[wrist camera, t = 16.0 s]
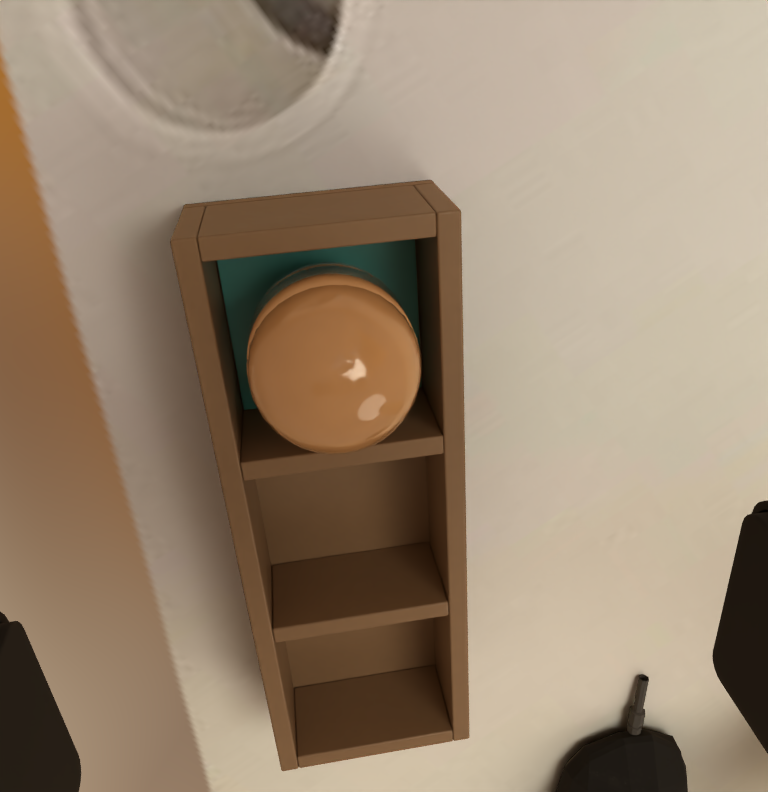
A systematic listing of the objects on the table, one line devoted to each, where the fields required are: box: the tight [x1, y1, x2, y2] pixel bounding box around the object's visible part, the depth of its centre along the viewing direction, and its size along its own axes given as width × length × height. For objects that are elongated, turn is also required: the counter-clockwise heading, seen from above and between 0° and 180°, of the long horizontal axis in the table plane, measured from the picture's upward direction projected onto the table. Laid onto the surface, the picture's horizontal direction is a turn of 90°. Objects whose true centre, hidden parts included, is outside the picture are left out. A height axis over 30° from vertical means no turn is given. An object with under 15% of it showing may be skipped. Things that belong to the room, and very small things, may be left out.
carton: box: [170, 180, 469, 771], centre depth 23 cm, size 7×19×3 cm, turn 4°
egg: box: [246, 262, 422, 455], centre depth 18 cm, size 4×4×6 cm
